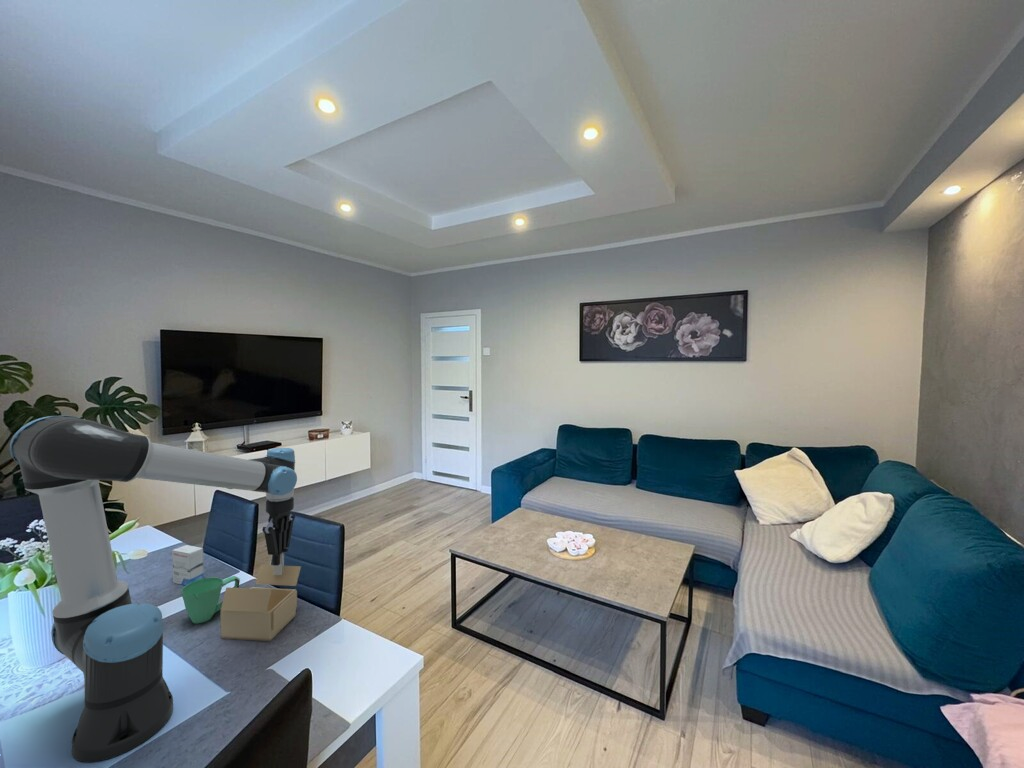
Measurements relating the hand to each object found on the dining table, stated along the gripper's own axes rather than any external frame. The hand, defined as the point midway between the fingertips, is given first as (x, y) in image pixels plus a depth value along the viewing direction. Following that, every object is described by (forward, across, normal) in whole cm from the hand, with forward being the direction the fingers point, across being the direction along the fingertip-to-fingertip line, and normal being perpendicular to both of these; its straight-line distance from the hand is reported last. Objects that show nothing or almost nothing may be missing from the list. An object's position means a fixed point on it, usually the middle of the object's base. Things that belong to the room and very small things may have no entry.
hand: (278, 574), depth 124 cm
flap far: (+3, -1, 0) cm, 3 cm away
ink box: (+11, +13, +41) cm, 45 cm away
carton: (+12, -8, 0) cm, 14 cm away
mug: (+12, -4, +18) cm, 22 cm away
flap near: (+4, -14, 0) cm, 15 cm away
